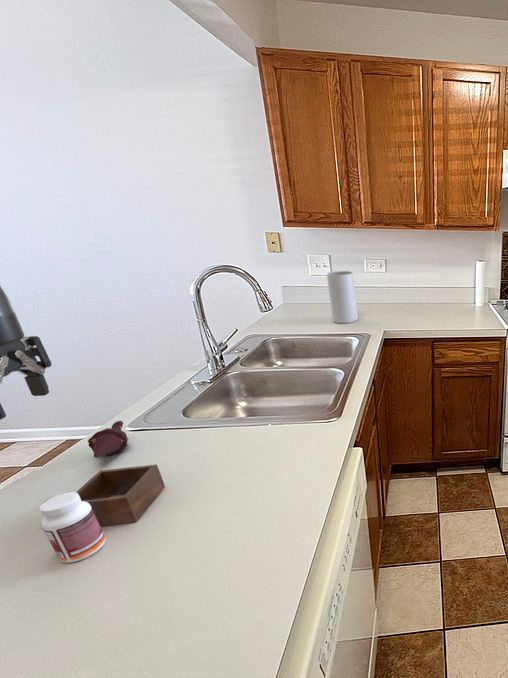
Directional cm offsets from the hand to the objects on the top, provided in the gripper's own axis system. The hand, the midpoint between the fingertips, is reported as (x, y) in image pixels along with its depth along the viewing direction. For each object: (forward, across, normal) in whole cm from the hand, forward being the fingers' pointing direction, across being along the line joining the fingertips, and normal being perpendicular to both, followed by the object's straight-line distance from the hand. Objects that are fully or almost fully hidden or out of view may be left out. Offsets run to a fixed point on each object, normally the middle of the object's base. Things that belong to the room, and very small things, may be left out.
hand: (20, 406), depth 67 cm
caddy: (+26, -4, +6) cm, 27 cm away
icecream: (+26, -26, -8) cm, 38 cm away
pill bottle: (+26, +7, +6) cm, 28 cm away
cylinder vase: (+26, -140, +33) cm, 146 cm away
